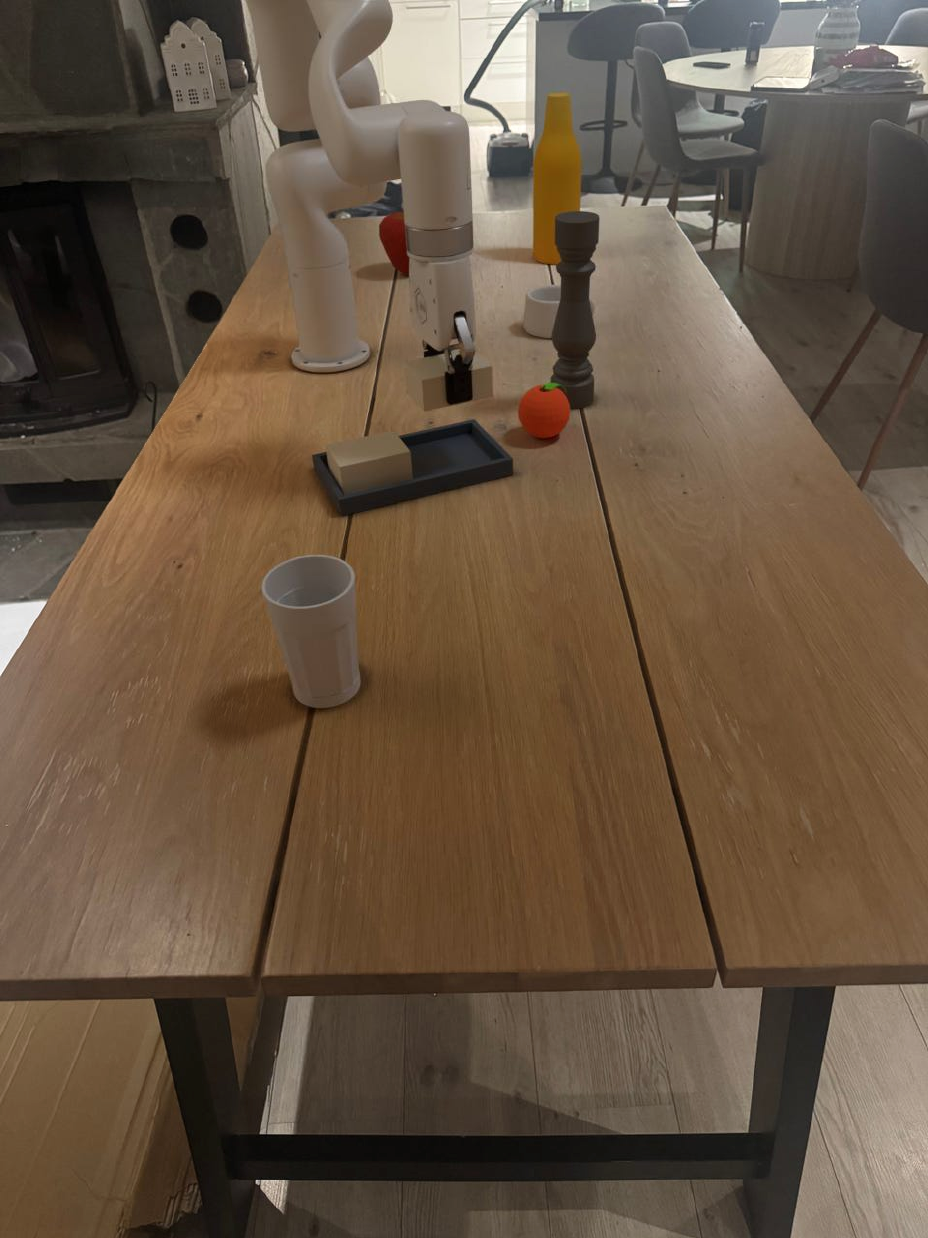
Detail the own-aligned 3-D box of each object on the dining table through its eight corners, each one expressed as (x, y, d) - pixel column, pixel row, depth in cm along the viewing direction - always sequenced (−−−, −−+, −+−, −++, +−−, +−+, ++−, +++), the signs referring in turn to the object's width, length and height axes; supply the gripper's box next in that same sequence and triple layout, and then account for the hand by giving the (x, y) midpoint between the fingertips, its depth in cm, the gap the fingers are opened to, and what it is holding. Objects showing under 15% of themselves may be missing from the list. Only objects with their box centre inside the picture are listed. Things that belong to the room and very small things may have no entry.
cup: (287, 661, 90) (265, 558, 82) (369, 653, 90) (355, 550, 83) (281, 718, 83) (257, 612, 76) (369, 710, 84) (354, 604, 76)
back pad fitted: (329, 473, 118) (325, 444, 115) (396, 458, 120) (393, 429, 118) (343, 496, 113) (339, 467, 110) (413, 479, 115) (410, 451, 113)
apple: (406, 261, 189) (401, 198, 182) (448, 268, 184) (445, 204, 176) (371, 276, 182) (364, 211, 175) (414, 285, 177) (409, 218, 170)
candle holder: (591, 410, 130) (599, 223, 115) (547, 408, 132) (549, 223, 116) (595, 391, 135) (603, 210, 120) (553, 389, 136) (556, 210, 121)
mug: (526, 341, 152) (526, 304, 148) (520, 320, 160) (520, 285, 156) (598, 336, 152) (600, 300, 148) (589, 316, 160) (591, 280, 156)
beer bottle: (580, 264, 183) (586, 97, 165) (533, 265, 183) (534, 99, 165) (576, 250, 190) (581, 88, 172) (531, 251, 190) (532, 91, 172)
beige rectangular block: (406, 392, 115) (403, 361, 113) (473, 378, 118) (471, 347, 115) (424, 411, 110) (421, 380, 108) (493, 396, 113) (492, 365, 110)
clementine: (546, 416, 130) (547, 367, 125) (585, 431, 125) (587, 381, 121) (507, 436, 125) (506, 386, 121) (546, 452, 121) (546, 401, 117)
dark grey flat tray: (314, 470, 120) (311, 454, 119) (474, 434, 126) (474, 418, 125) (341, 516, 111) (338, 499, 109) (513, 474, 117) (513, 458, 115)
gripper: (383, 225, 108) (397, 372, 119) (435, 264, 95) (445, 424, 106) (443, 216, 110) (451, 361, 121) (502, 253, 97) (505, 411, 108)
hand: (448, 389), depth 114 cm, fingers closed on beige rectangular block, 6 cm apart
